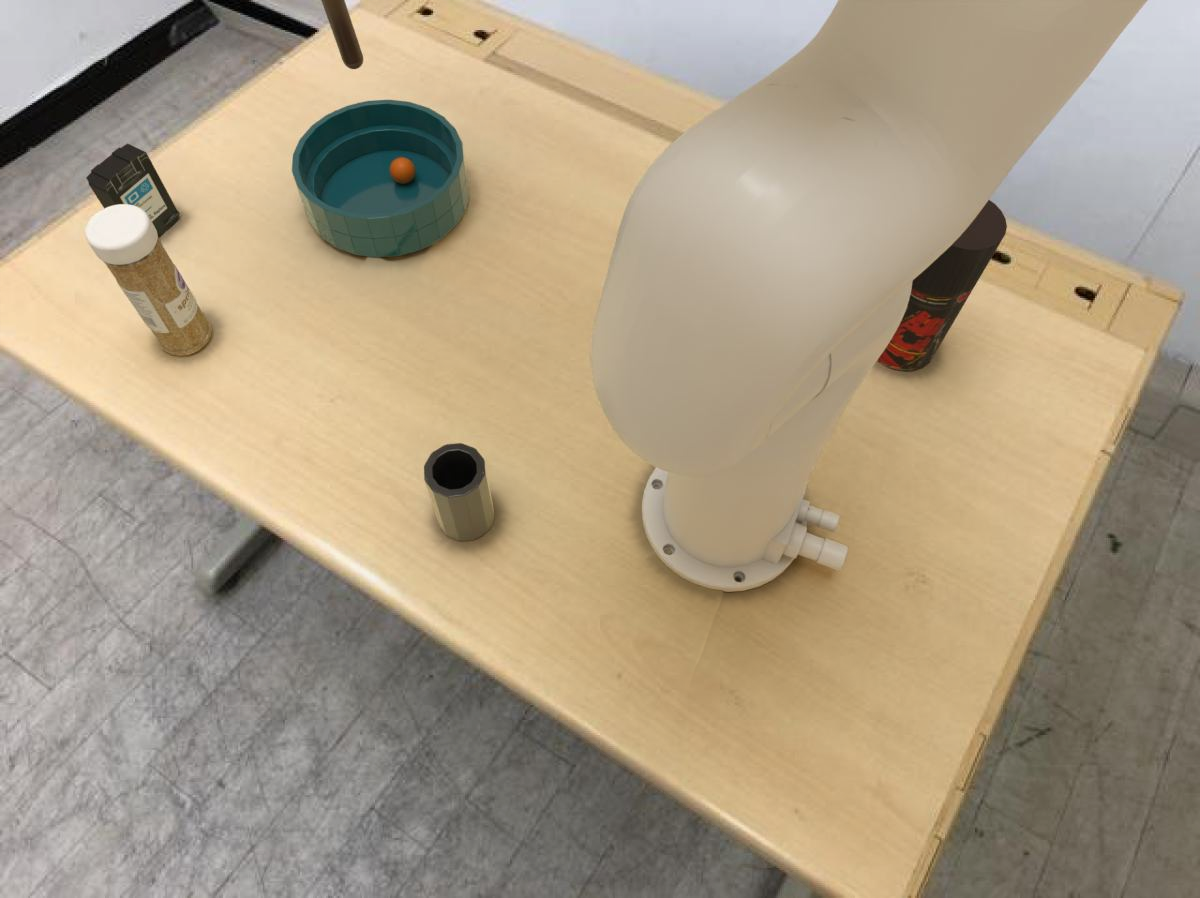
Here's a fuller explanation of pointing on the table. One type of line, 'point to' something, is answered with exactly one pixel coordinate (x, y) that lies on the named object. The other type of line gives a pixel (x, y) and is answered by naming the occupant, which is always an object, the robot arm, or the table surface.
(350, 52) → the stick
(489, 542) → the table surface
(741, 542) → the robot arm
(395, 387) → the table surface
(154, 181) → the ink cartridge
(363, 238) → the bowl
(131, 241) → the sprinkles bottle
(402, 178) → the ball
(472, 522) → the holder
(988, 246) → the deodorant
